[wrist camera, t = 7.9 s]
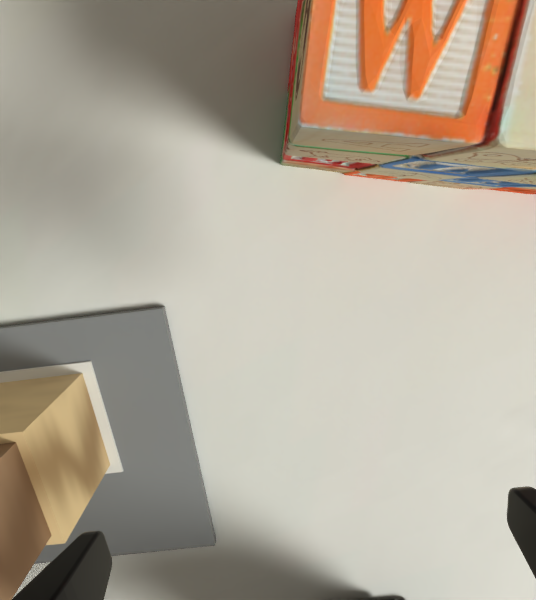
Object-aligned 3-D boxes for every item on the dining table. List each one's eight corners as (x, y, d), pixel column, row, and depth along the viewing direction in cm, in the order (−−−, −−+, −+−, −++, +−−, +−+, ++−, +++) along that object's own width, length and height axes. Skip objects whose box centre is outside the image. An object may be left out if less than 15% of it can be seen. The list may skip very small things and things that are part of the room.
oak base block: (110, 464, 22) (65, 543, 17) (11, 475, 22) (-62, 556, 17) (82, 373, 20) (23, 431, 15) (-25, 385, 20) (-117, 447, 15)
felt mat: (215, 539, 24) (214, 546, 23) (36, 557, 24) (31, 565, 24) (164, 306, 19) (161, 309, 19) (-56, 333, 20) (-64, 337, 19)
